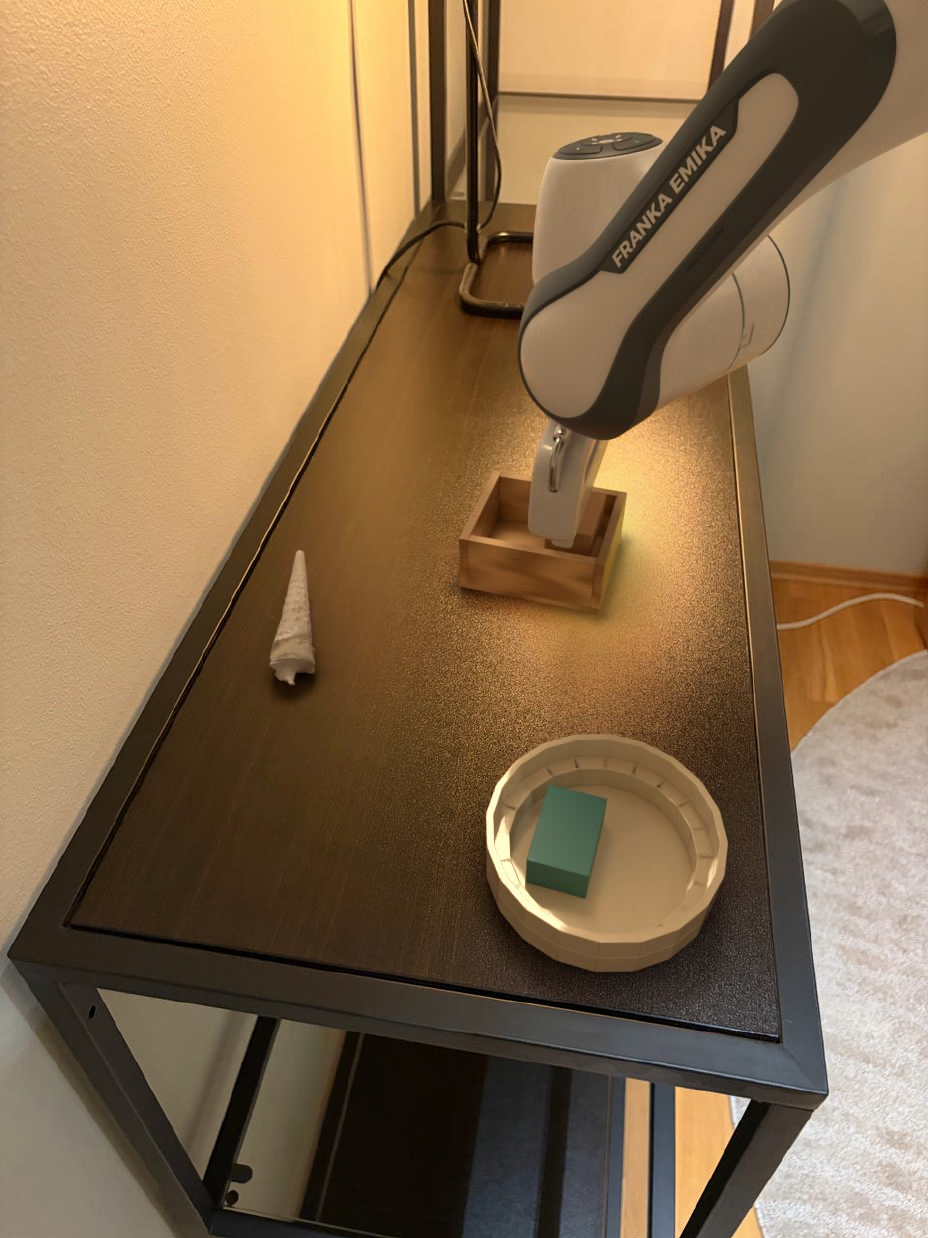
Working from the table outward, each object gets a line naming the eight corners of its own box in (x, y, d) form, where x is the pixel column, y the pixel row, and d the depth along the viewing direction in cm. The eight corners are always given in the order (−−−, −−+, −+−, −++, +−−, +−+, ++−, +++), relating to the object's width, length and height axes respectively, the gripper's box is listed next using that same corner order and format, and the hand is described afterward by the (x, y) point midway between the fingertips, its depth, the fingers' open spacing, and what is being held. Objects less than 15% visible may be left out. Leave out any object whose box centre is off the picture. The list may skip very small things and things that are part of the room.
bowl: (724, 801, 61) (737, 763, 58) (699, 1008, 51) (713, 975, 48) (518, 751, 65) (520, 713, 62) (457, 936, 55) (455, 901, 51)
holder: (620, 540, 82) (627, 492, 78) (598, 614, 75) (604, 565, 71) (493, 517, 85) (493, 469, 81) (460, 587, 78) (458, 538, 74)
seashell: (303, 702, 70) (321, 682, 68) (257, 688, 69) (274, 667, 66) (324, 572, 78) (341, 549, 76) (284, 557, 77) (300, 533, 74)
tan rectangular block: (603, 518, 78) (606, 493, 76) (589, 561, 74) (592, 535, 72) (560, 511, 79) (562, 486, 77) (543, 552, 75) (545, 526, 73)
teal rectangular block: (603, 821, 60) (607, 798, 58) (585, 899, 56) (589, 877, 54) (546, 807, 61) (548, 783, 59) (525, 882, 56) (526, 860, 54)
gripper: (600, 450, 58) (583, 601, 68) (648, 317, 72) (629, 458, 82) (509, 436, 59) (505, 586, 69) (573, 308, 73) (563, 448, 83)
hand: (573, 516), depth 75 cm, fingers closed on tan rectangular block, 6 cm apart
